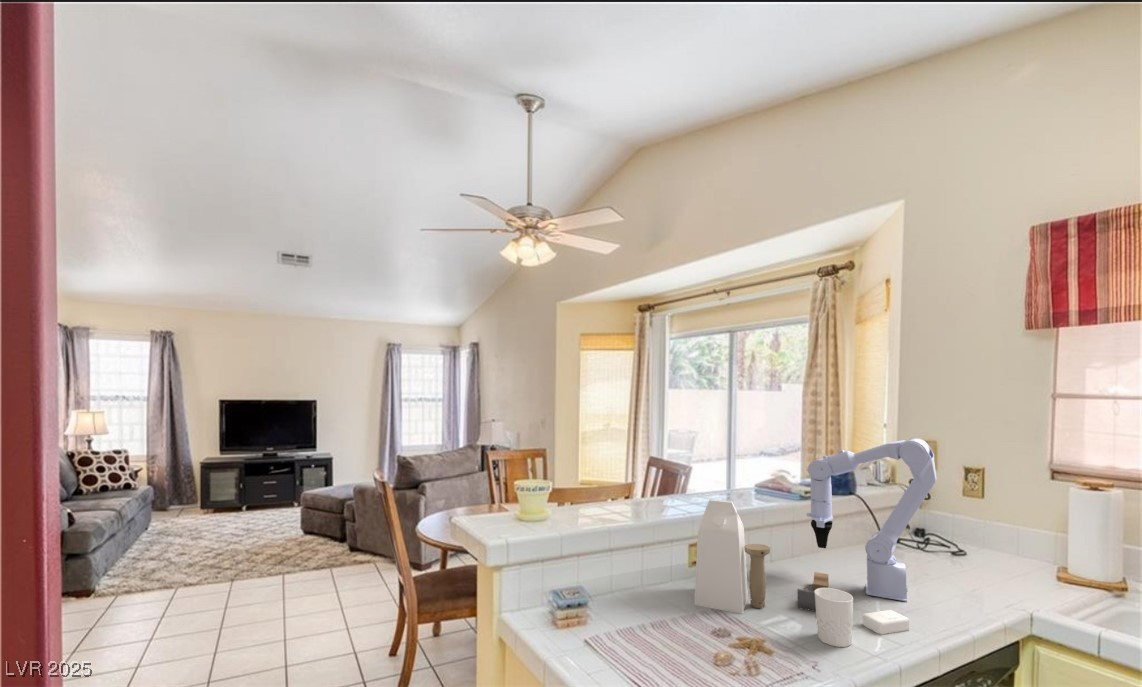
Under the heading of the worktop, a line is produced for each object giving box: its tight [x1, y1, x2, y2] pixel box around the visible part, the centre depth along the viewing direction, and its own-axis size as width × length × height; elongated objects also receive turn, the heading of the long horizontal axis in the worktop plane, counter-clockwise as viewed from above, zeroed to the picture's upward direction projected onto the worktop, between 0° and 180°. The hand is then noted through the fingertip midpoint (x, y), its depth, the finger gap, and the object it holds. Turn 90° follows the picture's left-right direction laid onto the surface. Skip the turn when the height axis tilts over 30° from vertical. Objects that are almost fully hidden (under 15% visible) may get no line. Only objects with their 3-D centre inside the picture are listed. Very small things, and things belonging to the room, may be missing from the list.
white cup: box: [814, 587, 854, 648], centre depth 119 cm, size 8×8×10 cm
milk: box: [694, 499, 749, 615], centre depth 140 cm, size 12×12×26 cm
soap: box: [862, 609, 911, 635], centre depth 125 cm, size 9×6×3 cm, turn 106°
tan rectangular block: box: [812, 571, 830, 591], centre depth 146 cm, size 10×4×4 cm, turn 153°
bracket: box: [797, 587, 816, 612], centre depth 136 cm, size 6×10×4 cm
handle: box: [744, 543, 771, 609], centre depth 136 cm, size 5×6×15 cm
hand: (822, 546), depth 155 cm, fingers closed
